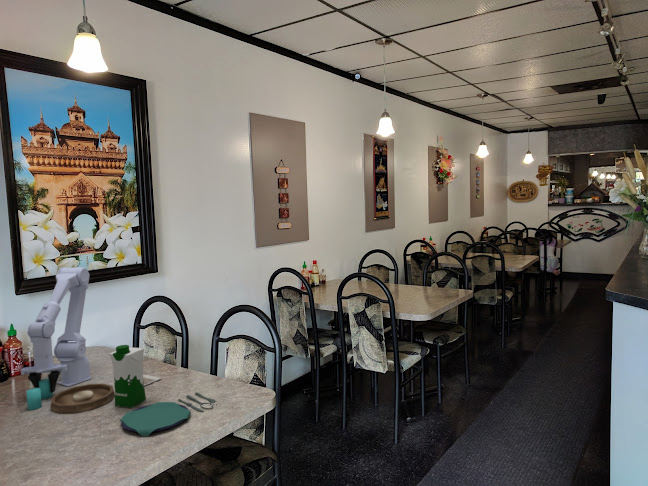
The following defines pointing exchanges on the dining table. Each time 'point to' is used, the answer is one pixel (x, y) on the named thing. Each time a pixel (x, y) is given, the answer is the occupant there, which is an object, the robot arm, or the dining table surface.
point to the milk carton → (128, 376)
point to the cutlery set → (159, 415)
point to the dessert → (150, 378)
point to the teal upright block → (45, 389)
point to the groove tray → (77, 407)
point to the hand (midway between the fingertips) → (46, 392)
